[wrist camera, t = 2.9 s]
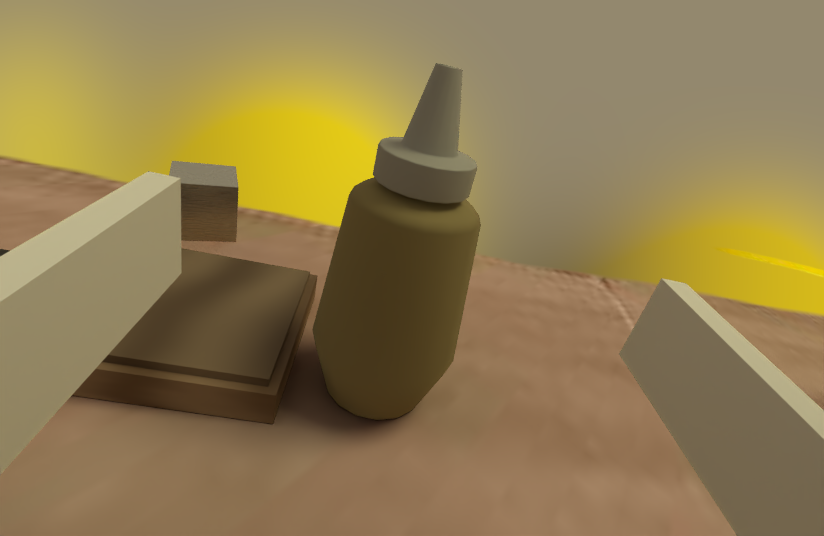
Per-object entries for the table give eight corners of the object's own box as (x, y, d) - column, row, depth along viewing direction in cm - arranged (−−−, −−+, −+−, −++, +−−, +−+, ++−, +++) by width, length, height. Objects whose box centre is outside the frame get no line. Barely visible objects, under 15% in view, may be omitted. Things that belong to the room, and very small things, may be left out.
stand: (314, 298, 34) (318, 269, 33) (272, 424, 23) (276, 388, 22) (146, 269, 32) (144, 238, 31) (21, 388, 22) (12, 348, 21)
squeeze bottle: (428, 347, 32) (509, 75, 23) (450, 443, 25) (576, 104, 16) (310, 335, 30) (352, 38, 22) (298, 434, 23) (353, 53, 15)
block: (233, 217, 43) (235, 166, 40) (236, 242, 39) (238, 187, 36) (173, 215, 41) (172, 160, 38) (170, 240, 37) (167, 182, 34)
